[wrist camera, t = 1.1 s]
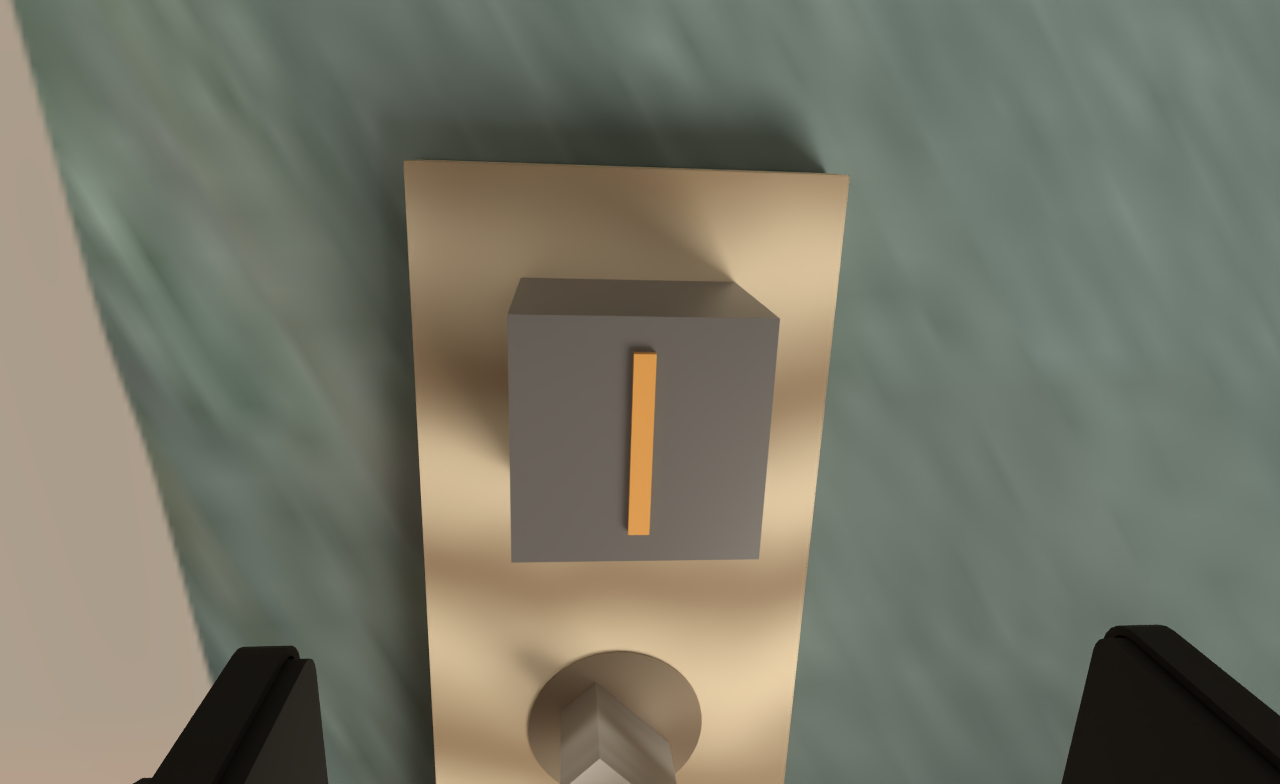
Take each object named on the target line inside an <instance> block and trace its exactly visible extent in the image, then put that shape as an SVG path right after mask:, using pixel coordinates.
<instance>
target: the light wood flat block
mask: <svg viewBox="0 0 1280 784" xmlns="http://www.w3.org/2000/svg"><path fill="white" fill-rule="evenodd" d="M403 162H404V181H405V200H406V219H407V238H408V257H409V276H410V295H411V314H412V334H413V353H414V372H415V391H416V410H417V429H418V448H419V467H420V486H421V505H422V524H423V543H424V562H425V581H426V600H427V619H428V638H429V657H430V676H431V695H432V715H433V734H434V753H435V772H436V784H784V777H785V767H786V758H787V749H788V740H789V731H790V721H791V712H792V703H793V694H794V684H795V675H796V666H797V657H798V648H799V638H800V629H801V620H802V611H803V602H804V592H805V583H806V574H807V565H808V555H809V546H810V537H811V528H812V519H813V509H814V500H815V491H816V482H817V473H818V463H819V454H820V445H821V436H822V427H823V417H824V408H825V399H826V390H827V380H828V371H829V362H830V353H831V344H832V334H833V325H834V316H835V307H836V298H837V288H838V279H839V270H840V261H841V251H842V242H843V233H844V224H845V215H846V205H847V196H848V187H849V178H850V175H840V174H830V173H807V172H777V171H747V170H718V169H688V168H658V167H628V166H598V165H568V164H538V163H508V162H478V161H449V160H419V159H417V160H405V161H403ZM520 278H564V279H614V280H664V281H714V282H736V283H737V284H738V285H739V286H741V287H742V288H743V289H744V290H745V291H747V292H748V293H749V294H750V295H752V296H753V297H754V298H755V299H757V300H758V301H759V302H760V303H761V304H763V305H764V306H765V307H766V308H768V309H769V310H770V311H771V312H773V313H774V314H775V315H776V316H778V317H779V318H780V326H779V337H778V349H777V360H776V371H775V383H774V394H773V406H772V417H771V428H770V440H769V451H768V462H767V474H766V485H765V497H764V508H763V519H762V531H761V542H760V553H759V559H747V560H672V561H596V562H521V563H511V512H510V449H509V387H508V325H507V314H508V311H509V308H510V306H511V303H512V300H513V297H514V295H515V292H516V289H517V286H518V284H519V281H520Z"/></svg>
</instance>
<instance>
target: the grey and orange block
mask: <svg viewBox="0 0 1280 784" xmlns="http://www.w3.org/2000/svg"><path fill="white" fill-rule="evenodd" d="M507 325H508V387H509V449H510V512H511V563H521V562H596V561H672V560H747V559H759V553H760V542H761V531H762V519H763V508H764V497H765V485H766V474H767V462H768V451H769V440H770V428H771V417H772V406H773V394H774V383H775V371H776V360H777V349H778V337H779V326H780V318H779V317H778V316H776V315H775V314H774V313H773V312H771V311H770V310H769V309H768V308H766V307H765V306H764V305H763V304H761V303H760V302H759V301H758V300H757V299H755V298H754V297H753V296H752V295H750V294H749V293H748V292H747V291H745V290H744V289H743V288H742V287H741V286H739V285H738V284H737V283H736V282H714V281H664V280H614V279H564V278H520V281H519V284H518V286H517V289H516V292H515V295H514V297H513V300H512V303H511V306H510V308H509V311H508V314H507Z"/></svg>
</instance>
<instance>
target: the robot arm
mask: <svg viewBox="0 0 1280 784" xmlns="http://www.w3.org/2000/svg"><path fill="white" fill-rule="evenodd" d="M133 784H328V777H327V768H326V759H325V749H324V740H323V731H322V721H321V712H320V703H319V693H318V684H317V675H316V668H315V663H314V661H313V660H312V659H300V657H299V653H298V651H297V649H296V648H295V647H294V646H260V647H242V648H239V649H238V650H237V651H236V652H235V653H234V654H233V656H232V657H231V659H230V660H229V662H228V663H227V665H226V666H225V668H224V669H223V671H222V672H221V674H220V675H219V677H218V678H217V680H216V681H215V683H214V684H213V686H212V688H211V689H210V691H209V692H208V694H207V695H206V697H205V698H204V700H203V701H202V703H201V704H200V706H199V707H198V709H197V710H196V712H195V713H194V715H193V716H192V718H191V719H190V721H189V723H188V724H187V726H186V727H185V729H184V730H183V732H182V733H181V735H180V736H179V738H178V739H177V741H176V742H175V744H174V745H173V747H172V748H171V750H170V752H169V753H168V755H167V756H166V758H165V759H164V761H163V762H162V764H161V765H160V767H159V768H158V770H157V771H156V773H155V774H154V776H153V777H152V778H142V779H140V780H139V781H137V782H135V783H133ZM1062 784H1280V716H1279V715H1278V714H1277V713H1276V712H1274V711H1273V710H1272V709H1271V708H1269V707H1268V706H1267V705H1266V704H1264V703H1263V702H1262V701H1261V700H1259V699H1258V698H1257V697H1256V696H1254V695H1253V694H1252V693H1251V692H1249V691H1248V690H1247V689H1246V688H1245V687H1243V686H1242V685H1241V684H1240V683H1238V682H1237V681H1236V680H1235V679H1233V678H1232V677H1231V676H1230V675H1228V674H1227V673H1226V672H1225V671H1223V670H1222V669H1221V668H1220V667H1218V666H1217V665H1216V664H1215V663H1213V662H1212V661H1211V660H1210V659H1208V658H1207V657H1206V656H1205V655H1203V654H1202V653H1201V652H1200V651H1198V650H1197V649H1196V648H1195V647H1194V646H1192V645H1191V644H1190V643H1189V642H1187V641H1186V640H1185V639H1184V638H1182V637H1181V636H1180V635H1179V634H1177V633H1176V632H1175V631H1173V630H1172V629H1170V628H1168V627H1167V626H1162V625H1127V626H1115V627H1112V628H1111V629H1110V630H1109V631H1108V632H1107V633H1106V635H1105V637H1104V639H1100V640H1099V641H1098V642H1097V643H1096V644H1095V647H1094V649H1093V654H1092V658H1091V662H1090V666H1089V670H1088V675H1087V679H1086V683H1085V687H1084V691H1083V696H1082V700H1081V704H1080V708H1079V712H1078V717H1077V721H1076V725H1075V729H1074V733H1073V738H1072V742H1071V746H1070V750H1069V755H1068V759H1067V763H1066V767H1065V771H1064V776H1063V780H1062Z"/></svg>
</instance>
